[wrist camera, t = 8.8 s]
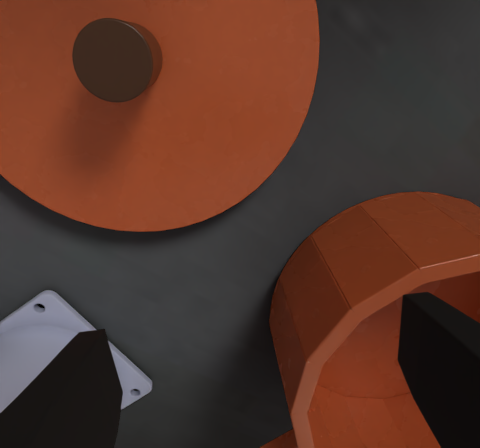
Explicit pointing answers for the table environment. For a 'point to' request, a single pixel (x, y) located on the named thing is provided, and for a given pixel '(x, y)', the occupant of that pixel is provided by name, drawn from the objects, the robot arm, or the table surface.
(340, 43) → the table surface
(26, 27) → the pan lid
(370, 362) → the pan
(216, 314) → the table surface
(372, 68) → the table surface
